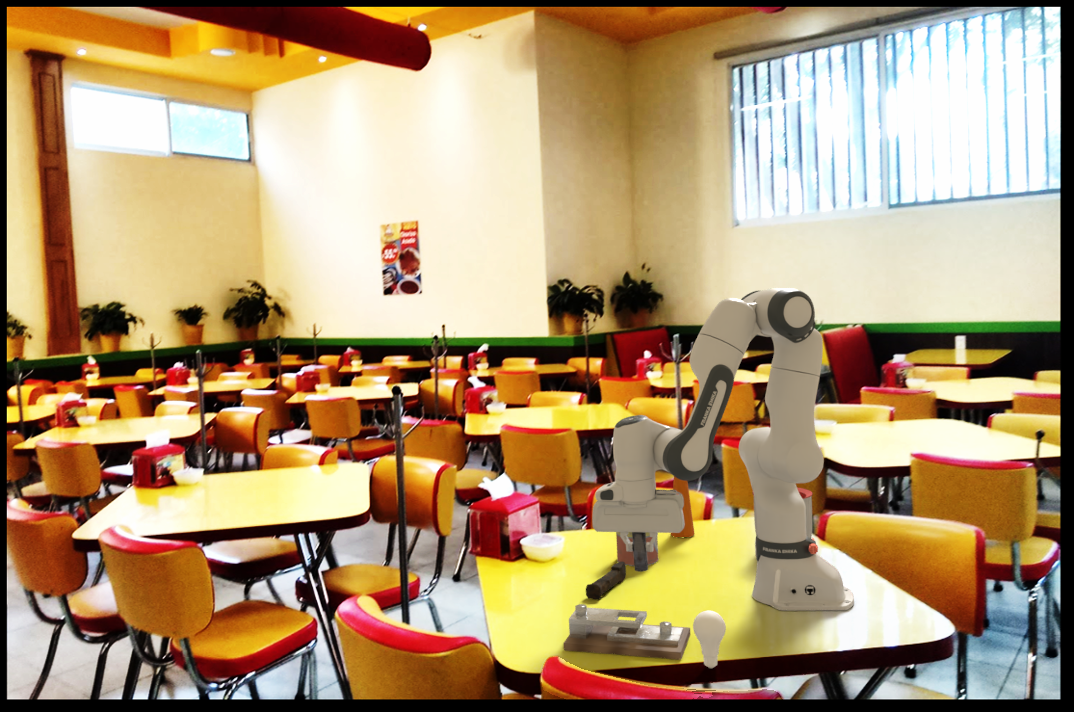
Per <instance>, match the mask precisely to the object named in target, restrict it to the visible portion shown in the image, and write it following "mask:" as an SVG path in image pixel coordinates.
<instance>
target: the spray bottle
mask: <svg viewBox="0 0 1074 712" xmlns="http://www.w3.org/2000/svg"><path fill="white" fill-rule="evenodd" d="M672 482H673V484H672V485H673V487H672V490H676V491H677V492H680V493H681V494H682V495H683V498H684V507H683V509H682V510H683V515H684V522H685V526H684V528H683V530H682V531H681V532H680V533H670V536H671V535H672V536H671V537H673V536H674V537H673V538H676V537H689V538H692V537H693V535H694V536H695V529H694V528H695V527H694V520H693V512H692V505H691V499H690V498H691V497H690V490H689V483H688V482H689V481H684V480H680V479H678V478H676V477H675V476H673V481H672ZM676 495H679V494H676ZM691 536H692V537H691Z"/></svg>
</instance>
